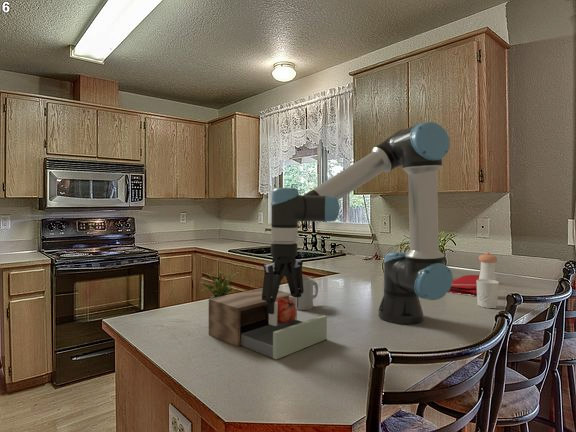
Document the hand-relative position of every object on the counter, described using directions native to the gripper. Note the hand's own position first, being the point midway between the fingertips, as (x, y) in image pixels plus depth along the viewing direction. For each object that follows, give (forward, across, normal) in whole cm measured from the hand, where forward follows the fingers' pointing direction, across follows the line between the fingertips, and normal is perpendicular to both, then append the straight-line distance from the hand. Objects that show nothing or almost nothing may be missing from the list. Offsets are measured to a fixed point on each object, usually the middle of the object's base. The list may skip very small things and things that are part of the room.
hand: (283, 321), depth 110 cm
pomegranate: (0, 0, 0) cm, 0 cm away
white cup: (+6, -84, +30) cm, 89 cm away
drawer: (+6, 0, 0) cm, 6 cm away
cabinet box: (+6, 0, -13) cm, 15 cm away
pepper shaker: (+6, -101, +25) cm, 104 cm away
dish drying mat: (+6, -118, +12) cm, 118 cm away
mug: (+6, -33, -20) cm, 39 cm away
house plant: (+6, -4, -34) cm, 35 cm away
